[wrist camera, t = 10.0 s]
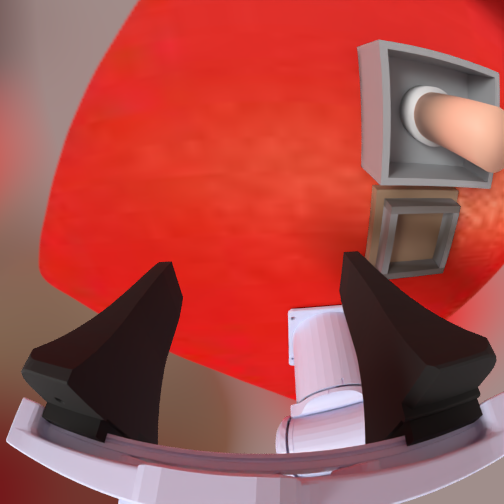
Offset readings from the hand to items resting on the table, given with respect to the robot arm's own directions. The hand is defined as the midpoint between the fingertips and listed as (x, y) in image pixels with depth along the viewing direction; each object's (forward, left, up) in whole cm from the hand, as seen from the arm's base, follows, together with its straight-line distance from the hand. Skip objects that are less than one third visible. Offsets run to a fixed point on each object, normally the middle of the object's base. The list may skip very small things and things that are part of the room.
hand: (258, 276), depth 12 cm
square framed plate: (-4, -12, -10) cm, 17 cm away
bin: (+6, -12, -10) cm, 17 cm away
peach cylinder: (+6, -12, -10) cm, 17 cm away
